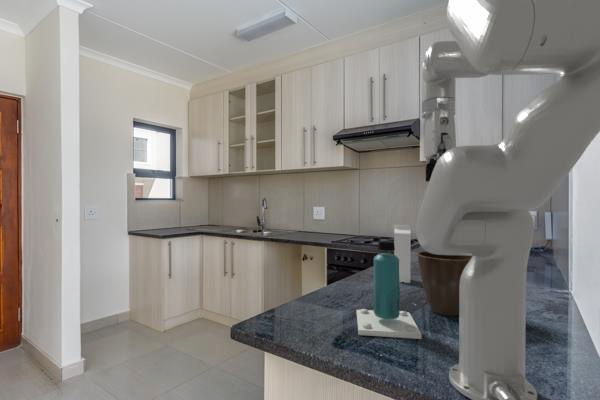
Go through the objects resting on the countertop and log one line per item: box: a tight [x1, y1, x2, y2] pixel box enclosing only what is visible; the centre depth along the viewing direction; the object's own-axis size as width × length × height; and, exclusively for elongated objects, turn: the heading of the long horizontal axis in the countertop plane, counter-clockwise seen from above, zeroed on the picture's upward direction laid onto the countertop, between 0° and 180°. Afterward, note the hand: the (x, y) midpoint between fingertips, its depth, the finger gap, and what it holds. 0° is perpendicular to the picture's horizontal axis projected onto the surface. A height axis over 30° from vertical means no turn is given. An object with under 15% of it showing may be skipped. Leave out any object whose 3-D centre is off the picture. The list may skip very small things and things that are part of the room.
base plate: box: [356, 308, 422, 340], centre depth 80 cm, size 14×14×2 cm
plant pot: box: [417, 250, 473, 317], centre depth 91 cm, size 15×15×16 cm
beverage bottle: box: [372, 240, 401, 319], centre depth 80 cm, size 6×7×20 cm
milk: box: [393, 223, 412, 284], centre depth 125 cm, size 6×6×22 cm
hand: (437, 180), depth 78 cm, fingers open, 9 cm apart
